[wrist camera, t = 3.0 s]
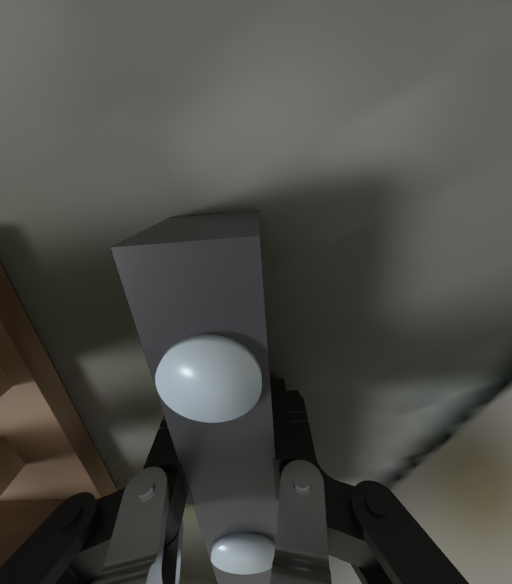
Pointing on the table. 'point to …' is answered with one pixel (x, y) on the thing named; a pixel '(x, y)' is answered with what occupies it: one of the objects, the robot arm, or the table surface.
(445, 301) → the table surface
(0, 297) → the display stand
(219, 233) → the grey bar with knobs
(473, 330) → the table surface
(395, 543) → the robot arm
